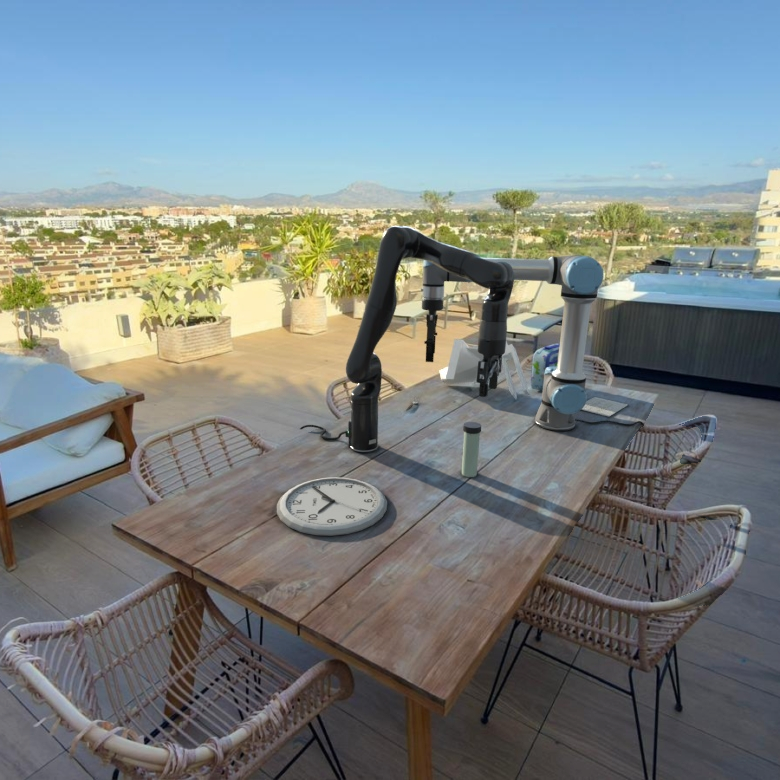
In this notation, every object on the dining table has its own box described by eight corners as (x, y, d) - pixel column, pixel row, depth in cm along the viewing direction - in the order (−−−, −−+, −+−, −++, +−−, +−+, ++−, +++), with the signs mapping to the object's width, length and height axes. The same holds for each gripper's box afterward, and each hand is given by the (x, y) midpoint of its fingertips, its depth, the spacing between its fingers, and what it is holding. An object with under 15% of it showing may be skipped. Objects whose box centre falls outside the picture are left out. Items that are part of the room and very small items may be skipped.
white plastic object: (461, 429, 252) (437, 405, 227) (444, 352, 274) (420, 323, 250) (535, 404, 240) (518, 377, 215) (510, 326, 262) (492, 293, 237)
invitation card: (608, 416, 214) (573, 407, 224) (608, 416, 214) (573, 408, 224) (628, 404, 229) (594, 396, 238) (628, 405, 229) (594, 397, 238)
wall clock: (392, 527, 129) (268, 531, 127) (391, 533, 130) (269, 537, 127) (383, 473, 158) (282, 475, 155) (383, 478, 158) (282, 480, 156)
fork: (403, 411, 216) (403, 406, 215) (414, 400, 230) (414, 395, 230) (409, 412, 215) (409, 407, 215) (420, 400, 229) (420, 396, 229)
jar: (479, 474, 162) (483, 426, 157) (469, 478, 159) (472, 430, 155) (469, 469, 166) (472, 422, 161) (458, 473, 163) (461, 425, 158)
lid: (484, 431, 158) (485, 425, 157) (472, 435, 155) (472, 429, 154) (472, 426, 162) (472, 420, 161) (459, 429, 159) (459, 424, 158)
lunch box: (547, 395, 239) (552, 351, 233) (526, 390, 247) (530, 347, 240) (574, 384, 257) (579, 343, 251) (554, 380, 264) (558, 339, 258)
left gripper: (487, 330, 151) (483, 384, 156) (470, 339, 139) (466, 397, 144) (513, 333, 148) (508, 388, 153) (497, 342, 136) (492, 401, 141)
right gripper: (424, 293, 195) (422, 349, 202) (419, 302, 172) (417, 365, 178) (444, 294, 195) (441, 350, 201) (442, 303, 171) (439, 366, 177)
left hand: (487, 392), depth 148 cm, fingers open, 8 cm apart
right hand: (430, 357), depth 190 cm, fingers open, 13 cm apart
